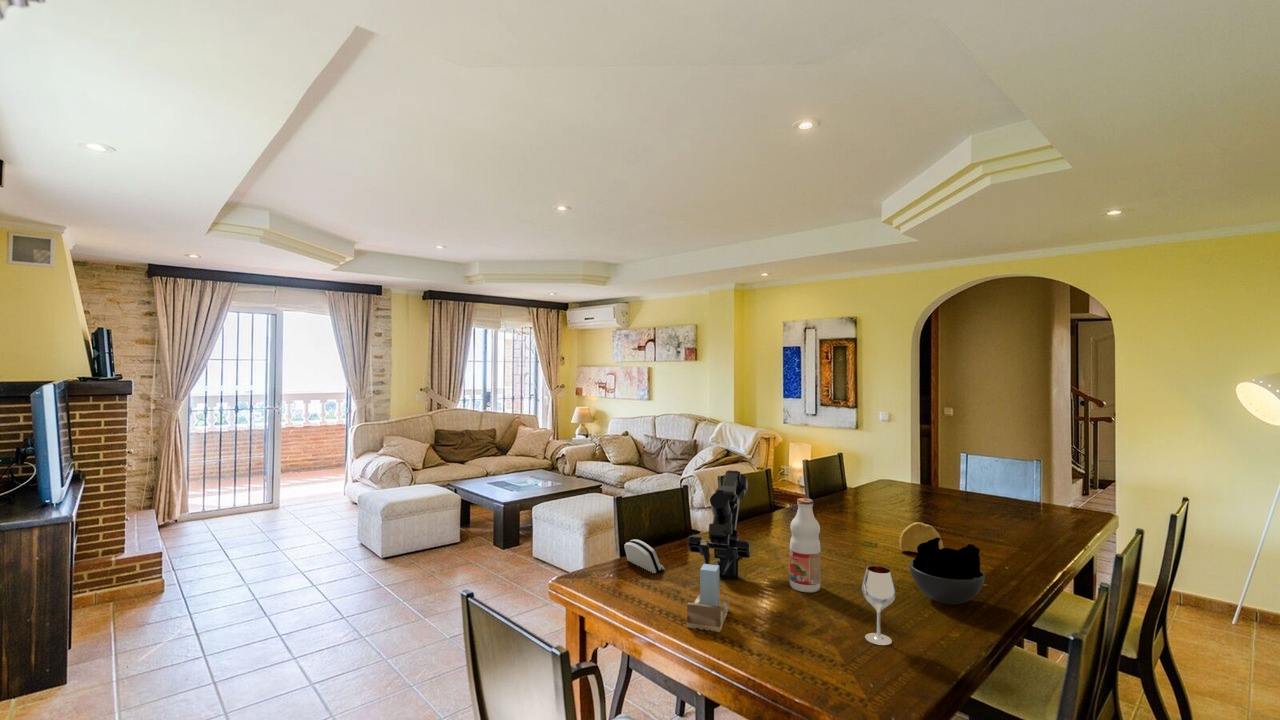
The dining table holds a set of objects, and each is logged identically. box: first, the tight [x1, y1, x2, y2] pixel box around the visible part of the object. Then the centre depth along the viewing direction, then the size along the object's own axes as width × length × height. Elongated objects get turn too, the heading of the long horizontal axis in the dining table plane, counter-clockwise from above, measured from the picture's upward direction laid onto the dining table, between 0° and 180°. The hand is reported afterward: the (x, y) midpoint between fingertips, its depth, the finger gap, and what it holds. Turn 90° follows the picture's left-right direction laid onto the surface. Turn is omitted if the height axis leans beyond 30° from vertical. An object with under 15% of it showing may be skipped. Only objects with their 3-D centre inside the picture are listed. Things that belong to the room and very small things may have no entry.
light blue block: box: [699, 563, 720, 606], centre depth 162 cm, size 5×4×12 cm
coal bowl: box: [909, 537, 986, 605], centre depth 173 cm, size 20×20×19 cm
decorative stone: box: [898, 521, 945, 554], centre depth 220 cm, size 13×15×15 cm
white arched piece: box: [623, 539, 666, 574], centre depth 203 cm, size 17×5×10 cm, turn 34°
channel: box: [686, 594, 730, 633], centre depth 161 cm, size 15×9×6 cm, turn 162°
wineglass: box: [861, 565, 897, 646], centre depth 149 cm, size 8×8×18 cm
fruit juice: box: [789, 497, 821, 593], centre depth 184 cm, size 9×9×28 cm
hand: (715, 572), depth 170 cm, fingers open, 4 cm apart
